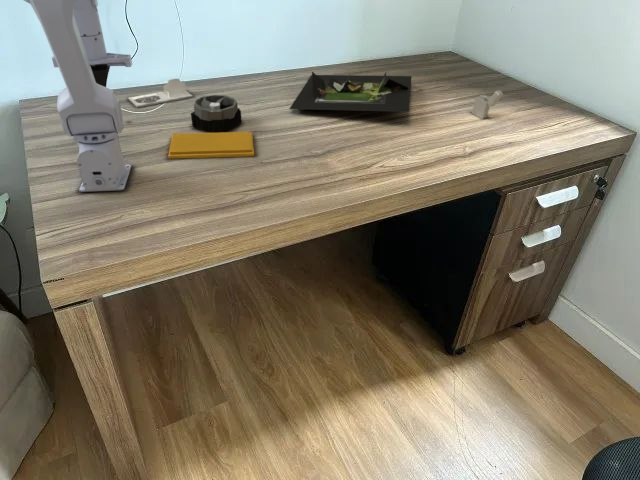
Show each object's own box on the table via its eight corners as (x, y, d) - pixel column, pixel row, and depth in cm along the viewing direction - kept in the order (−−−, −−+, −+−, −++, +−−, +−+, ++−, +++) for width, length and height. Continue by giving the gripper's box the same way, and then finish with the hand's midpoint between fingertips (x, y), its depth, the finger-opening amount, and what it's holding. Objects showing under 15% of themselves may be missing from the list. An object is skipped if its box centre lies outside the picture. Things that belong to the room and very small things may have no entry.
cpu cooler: (210, 91, 120) (245, 99, 117) (212, 113, 123) (246, 121, 120) (183, 104, 112) (220, 113, 109) (186, 128, 116) (222, 137, 113)
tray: (254, 156, 106) (254, 150, 105) (168, 159, 103) (167, 153, 102) (252, 136, 114) (251, 131, 113) (172, 138, 111) (171, 133, 110)
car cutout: (182, 89, 136) (180, 73, 133) (192, 97, 132) (190, 80, 129) (128, 99, 128) (125, 82, 126) (137, 107, 124) (134, 90, 122)
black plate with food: (412, 60, 141) (409, 93, 117) (410, 87, 145) (407, 124, 121) (310, 59, 146) (287, 91, 122) (312, 85, 150) (290, 121, 126)
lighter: (471, 113, 131) (478, 83, 126) (475, 112, 132) (483, 82, 127) (491, 122, 126) (499, 92, 122) (495, 121, 127) (504, 91, 122)
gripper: (128, 27, 99) (140, 93, 107) (52, 27, 97) (70, 94, 105) (123, 37, 93) (136, 105, 101) (41, 36, 91) (61, 106, 99)
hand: (102, 100), depth 103 cm, fingers closed
